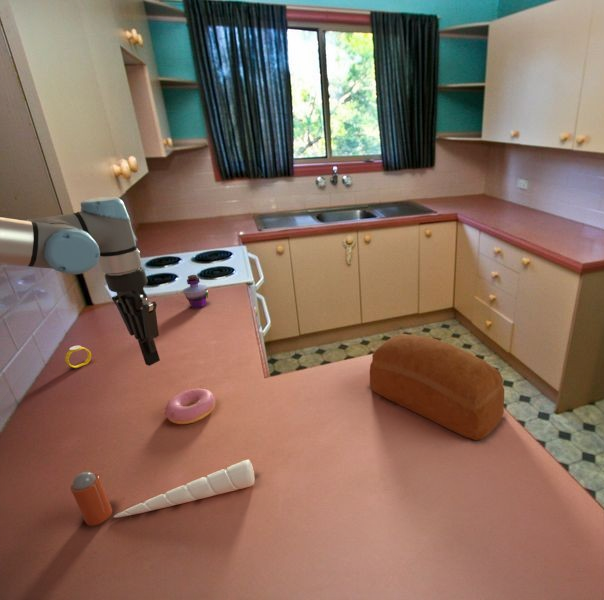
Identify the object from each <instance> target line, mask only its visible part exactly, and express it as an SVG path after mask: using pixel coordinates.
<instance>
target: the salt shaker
mask: <svg viewBox="0 0 604 600" xmlns="http://www.w3.org/2000/svg"><path fill="white" fill-rule="evenodd" d="M70 491H71V494H72V496H73V498H74V501H75V502H76V504H77V507H78V509H79V511H80V513H81V516H82V519H83V520H84V522H85V524H86V525H87V526H91V527H92V526H96V525H97V526H98V525H99V524H102V523H104V522H105V521H107V520H108V519H109V518H110V517H111V515H112V514H113V508H112V505H111V503H110V500H109V498H108V495H107V493H106V490H105V488H104V485H103V483H102V481H101V479H100V476H99V475H98V474H97V473H93V471H92V472H91V471H82V472H80V473H78V474H77V475H76V476H75V477H74V478H73V480H72V484H71V486H70Z"/></svg>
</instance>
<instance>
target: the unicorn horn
mask: <svg viewBox="0 0 604 600" xmlns="http://www.w3.org/2000/svg"><path fill="white" fill-rule="evenodd" d="M255 481H256V480H255V472H254V468H253V463H252V462H251V460H250V459H244V460H241V461H240V462H237V463H234V464H232V465H230V466H226V468H222V469H220V470H217V471H214V472H212V473H208V474H207V475H206V476H202V477H199V478H197V479H195V480H192V481H190V482H187V483H186V484H181V485H180V486H178V487H175V488H172V489H170V490H168V491H165V493H161V494H158V495H155V496H154V497H151V498H149V499H147V500H144V501H143V502H140V503H137V504H135V505H133V506H130V507H129V508H127V509H124V510H123V511H120V512H118V513H116V514H115V515H113V518H123V517H128V516H132V515H138V514H139V515H140V514H143V513H148V512H151V511H155V510H159V509H164V508H169V507H173V506H176V505H180V504H185V503H190V502H194V501H198V500H202V499H206V498H209V497H213V496H214V497H215V496H217V495H221V494H227V493H230V492H234V491H238V490H242V489H245V488H250V487H252V486H254V484H255Z"/></svg>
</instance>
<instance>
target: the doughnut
mask: <svg viewBox="0 0 604 600" xmlns="http://www.w3.org/2000/svg"><path fill="white" fill-rule="evenodd" d="M215 406H216V397H215V394H213V392H212V391H210V390H209V389H205V388H202V387H200V388H190V389H187V390H186V389H185V390H183V391H180V392H179V393H177V394H176V395H174V396H172V397H171V398H170V399H169V400H168V402H167V404H166V405H165V407H164V414H165V417H166V418H167V420H168V421H170V422H171V423H173V424H176V425H177V424H178V425H187V424H192V423H196V422H199V421H201V420H203V419H205V418H206V417H207V416H209V415H210V414H211V413H212V411H213V410H214V408H215Z"/></svg>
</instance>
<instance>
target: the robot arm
mask: <svg viewBox="0 0 604 600" xmlns="http://www.w3.org/2000/svg"><path fill="white" fill-rule="evenodd" d="M140 254H141V251H140V250H139V249H138V245H137V241H136V237H135V233H134V230H133V227H132V223H131V218H130V215H129V213H128V211H127V208H126V205H125V202H124V200H122V199H121V198H119V197H116V196H101V197H99V196H98V197H93V198H89V199H84V200H82V201H81V202H80V211H76V212H73V213H67V214H59V215H52V216H45V217H39V218H27V219H26V220H22V219H16V218H9V217H2V216H0V265H4V266H5V265H6V266H17V267H18V266H19V267H31V268H39V269H51V270H52V269H53V270H54V271H57V272H60V273H63V274H65V275H66V274H67V275H82V274H85V273H87V272H89V271H91V270H92V269H93V268H94V267H95V266H97V264H98V262H99V265H100V267H101V271H102V273H104V280H105V282H106V286H107V289H108V290H109V291H110V292H113V293H115V294H116V295H114V296H111V300H112V302H113V303H114V305H115V306H116V308H117V310H118V312H119V314H120V317H121V318H122V321H123V323H124V325H125V327H126V329H127V331H128V333H129V335H130V336H131V337H132V336H134V338H135V340H137V342H138V345H139V348H140V352H141V354H142V357H143V361H144V364H145V365H146V366H148V367H150V366H152V365H155V364H156V363H158V362H160V361H161V359H160V355H159V352H158V348H157V347H156V346H157V345H156V342H155V339H156V338H158V337H160V333H159V326H158V318H157V317H158V316H157V312H156V311H157V304H158V303H157V302H156V301H155V300H153V301H151V300H149V299H148V295H147V293H146V292H145V289H144V287H145V286H146V285H147V284H148V278H147V274H146V271H145V268H144V267H143V261H142V259H141V255H140Z"/></svg>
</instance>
